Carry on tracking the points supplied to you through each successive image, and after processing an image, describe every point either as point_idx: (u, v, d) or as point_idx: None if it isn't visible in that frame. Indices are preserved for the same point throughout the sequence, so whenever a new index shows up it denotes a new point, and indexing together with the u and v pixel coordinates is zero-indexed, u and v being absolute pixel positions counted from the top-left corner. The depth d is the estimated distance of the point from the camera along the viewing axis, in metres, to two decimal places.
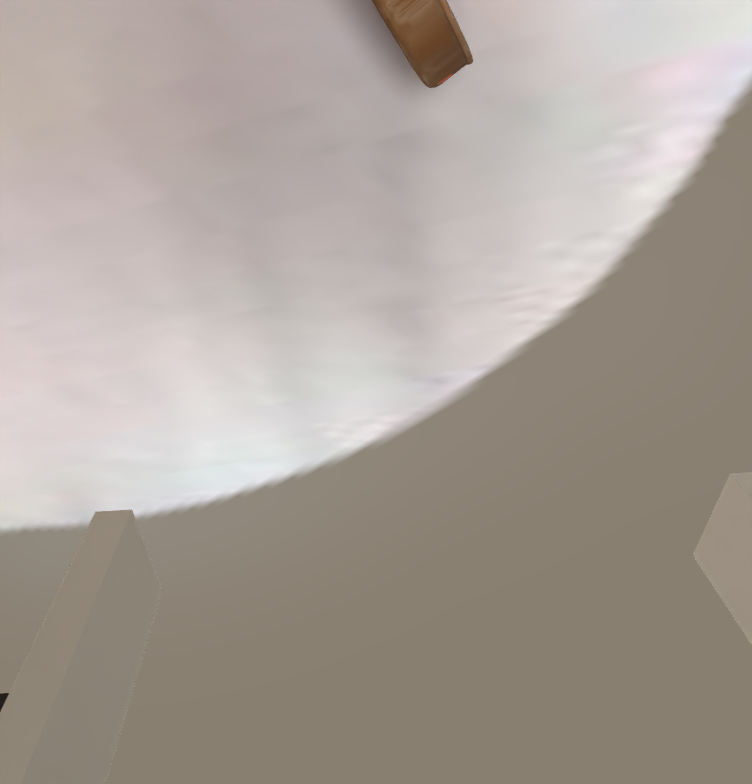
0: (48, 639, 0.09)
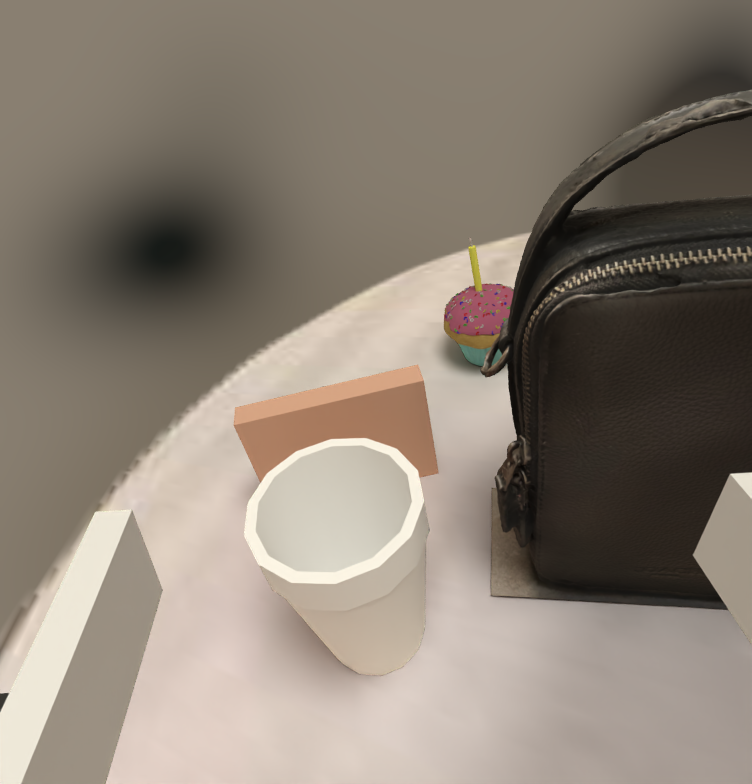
0: (48, 639, 0.09)
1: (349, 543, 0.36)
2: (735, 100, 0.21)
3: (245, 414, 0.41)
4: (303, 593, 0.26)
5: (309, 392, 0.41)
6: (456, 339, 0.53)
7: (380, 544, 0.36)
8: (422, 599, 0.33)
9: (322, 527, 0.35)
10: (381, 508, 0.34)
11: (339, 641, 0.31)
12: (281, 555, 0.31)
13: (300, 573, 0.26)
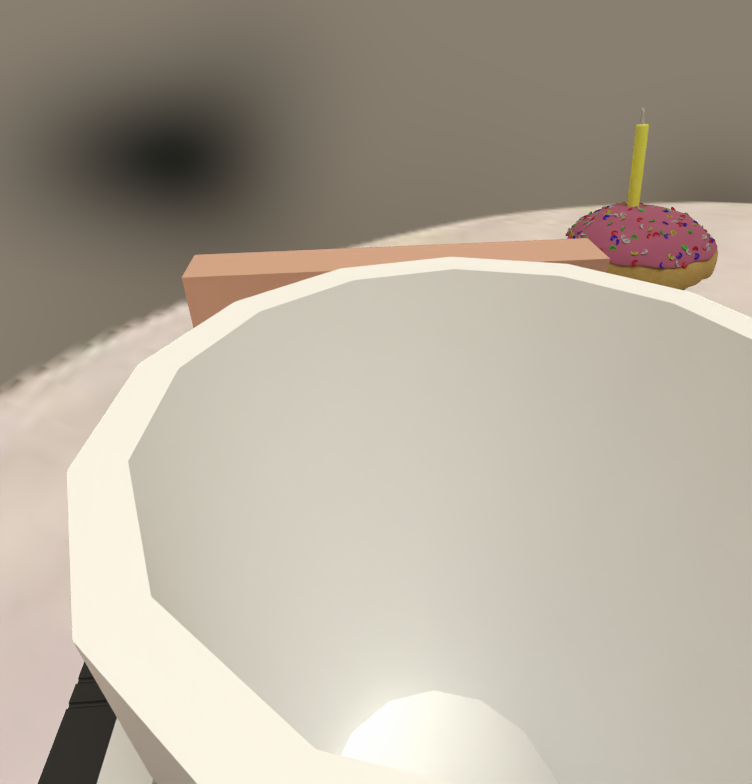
0: None
1: (413, 589, 0.14)
2: None
3: (213, 265, 0.19)
4: None
5: (356, 250, 0.20)
6: None
7: (492, 605, 0.14)
8: None
9: (360, 531, 0.12)
10: (541, 504, 0.12)
11: None
12: (230, 595, 0.09)
13: (340, 775, 0.03)
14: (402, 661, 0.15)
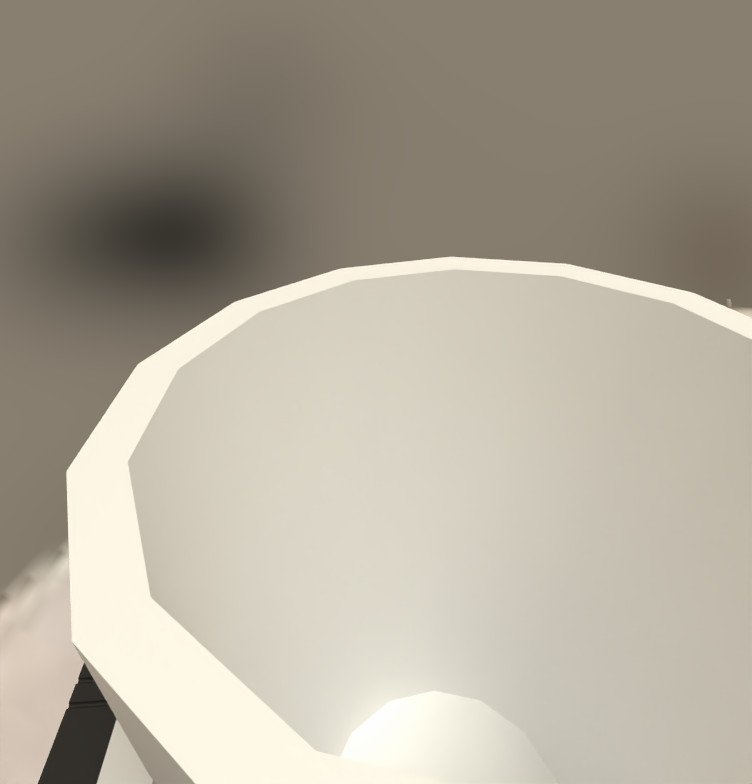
0: None
1: (414, 589, 0.14)
2: None
3: None
4: None
5: None
6: None
7: (492, 606, 0.14)
8: None
9: (360, 531, 0.12)
10: (542, 504, 0.12)
11: None
12: (230, 596, 0.09)
13: (340, 776, 0.03)
14: (402, 661, 0.15)
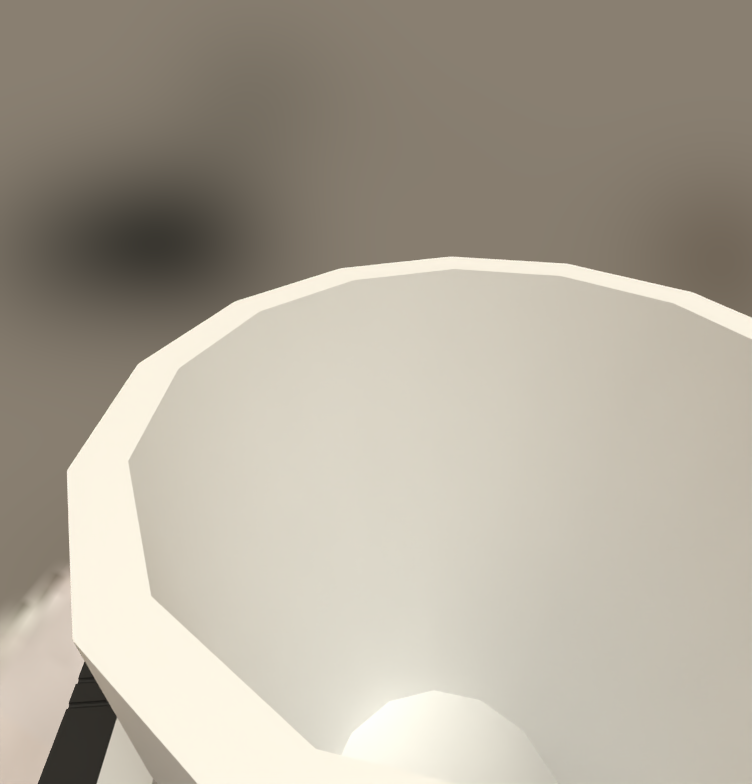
0: None
1: (413, 589, 0.14)
2: None
3: None
4: None
5: None
6: None
7: (492, 605, 0.14)
8: None
9: (360, 531, 0.12)
10: (541, 504, 0.12)
11: None
12: (230, 595, 0.09)
13: (339, 774, 0.03)
14: (402, 661, 0.15)
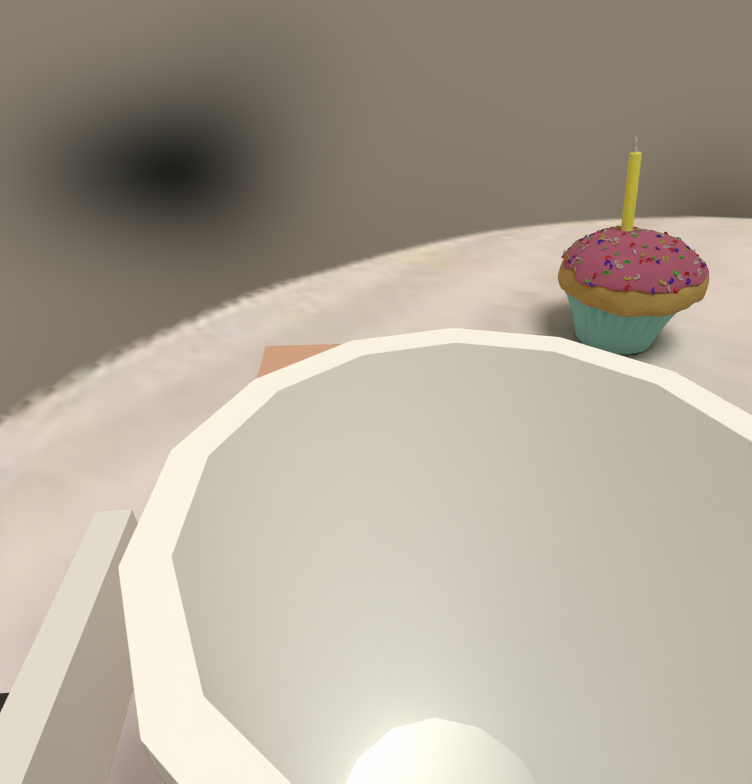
0: (48, 639, 0.09)
1: (416, 626, 0.15)
2: None
3: None
4: None
5: None
6: (583, 297, 0.33)
7: (490, 641, 0.15)
8: None
9: (366, 576, 0.13)
10: (537, 552, 0.13)
11: None
12: (252, 653, 0.09)
13: None
14: (405, 692, 0.16)
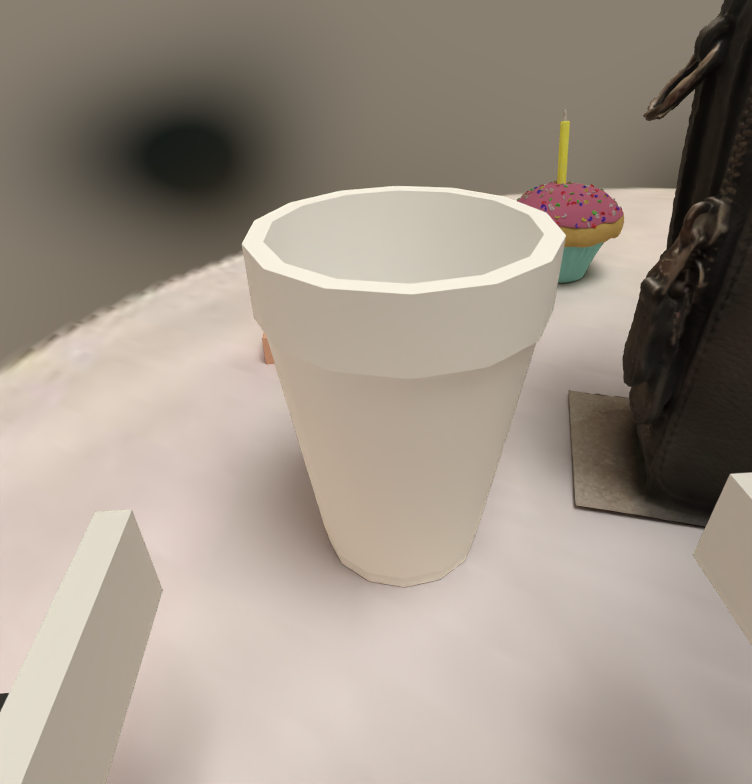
0: (48, 639, 0.09)
1: None
2: None
3: None
4: (339, 323, 0.14)
5: None
6: None
7: None
8: (497, 462, 0.20)
9: None
10: None
11: (363, 487, 0.18)
12: None
13: (342, 280, 0.14)
14: None
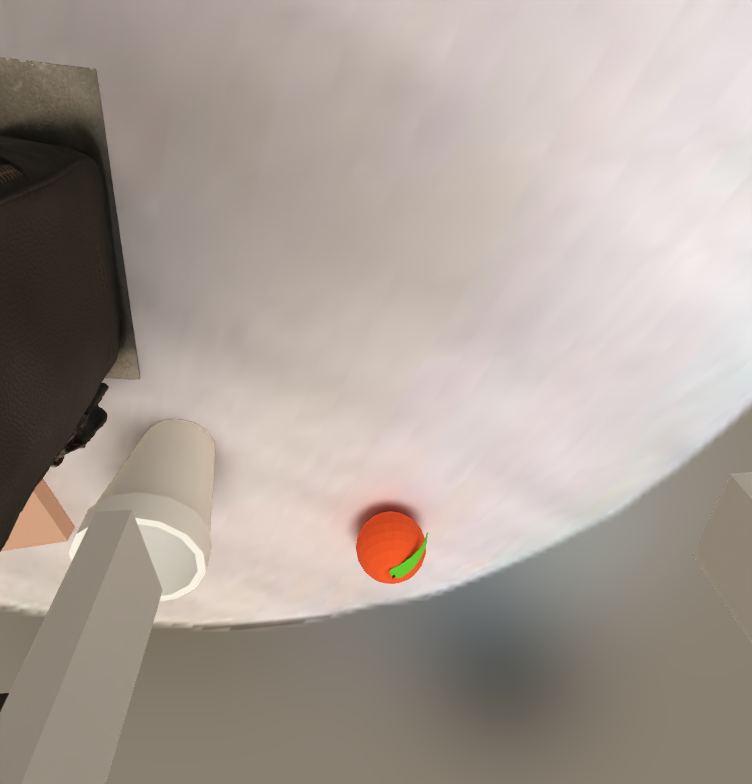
0: (48, 639, 0.09)
1: None
2: None
3: None
4: (207, 559, 0.42)
5: None
6: None
7: None
8: (168, 449, 0.45)
9: None
10: None
11: (211, 497, 0.47)
12: (170, 556, 0.45)
13: (198, 569, 0.41)
14: None
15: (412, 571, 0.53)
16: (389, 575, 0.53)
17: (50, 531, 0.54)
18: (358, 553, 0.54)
